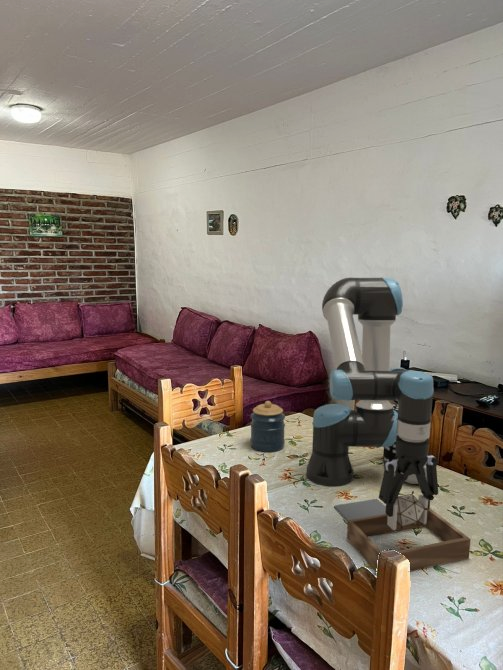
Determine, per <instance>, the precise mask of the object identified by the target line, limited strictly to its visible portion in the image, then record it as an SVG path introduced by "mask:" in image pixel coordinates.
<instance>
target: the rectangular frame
mask: <svg viewBox="0 0 503 670" xmlns="http://www.w3.org/2000/svg"><path fill="white" fill-rule="evenodd" d="M387 519H388V515H387V514H381V515H376V516H370V517H364V518H358V519H353V520H348V522H347V525H346V527H347V529H346V539H347V541H349V543H350V544H351V546H353V548H355V550H356V551H357V552H358V553H359V554H360V555H361V557H363V559H365V560H366V562H367V563H368V564H369V566H371V568H373V570H375V572H376V568H377V560H378V555H379V553H381V552H383V551H382V550H381V549H380V548H379V547H378V546H377V545H376V543H374V542H373V540H371V539H370V538H371V537H375V536H376V537H377V536H380V535H385V534H386V535H387V534H391V533H397V532H401V531H406V530H413V529H416V528H417V529H418V528H423V527H426V528H427V529H429V530H430V532H432V533H433V534H434V535H436V536H437V537H438V538H439V539H440V540H442V541H439V542H436V543H430V544H425V545H420V546H416V547H415V546H414V547H411V548H410V547H409V548H405V549H401V550H397V552H399V553H401V554H402V555H404V556H405V557H406V558H407V559H408V560H409V562H410V570H411V571H410V572H412V571H417V570H423V569H425V568H431V567H434V566H440V565H444V564H448V563H454V562H457V561H458V562H460V561H462V560H467V559H469V558H470V551H471V550H470V549H471V538H470V537H469V536H468V535H466V534H464V533H463V532H462V531H461V530H459V528H457V527H456V526H454V524H453V525H452V523H450V522H449V521H448V520H447V519H445V518H444V517H442V516H441V515H440V514H438V513H437V512H436V511H435V510H433V509H432V508H431V507H430V508H429V510H427V523H426V524H423V523H421V522H420V521H418V522H420V524H419V526H417V524H414V525H409V526H404V527H403V528H402V530H401V525H400V524H399V522H398V521H397V525H396V530H392V529H391V528H390V527H389V526H388V525H387Z"/></svg>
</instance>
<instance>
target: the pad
mask: <svg viewBox="0 0 503 670" xmlns="http://www.w3.org/2000/svg"><path fill="white" fill-rule="evenodd" d="M333 508H334V509H335V510H336V511H337V512H338V513H339V514H340V516H341V517H342V518H343V519H344V520H345V521H346V522H347V523H348V520H353V519H358V518H364V517H370V516H376V515H381V514H386V512H385V511H386V504H385V503H384V502H382V501H380V499H379V498H373V499H367V500H360V501H354V502H348V503H343V504H342V503H341V504H337V505H336V504H335V505H333Z"/></svg>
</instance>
